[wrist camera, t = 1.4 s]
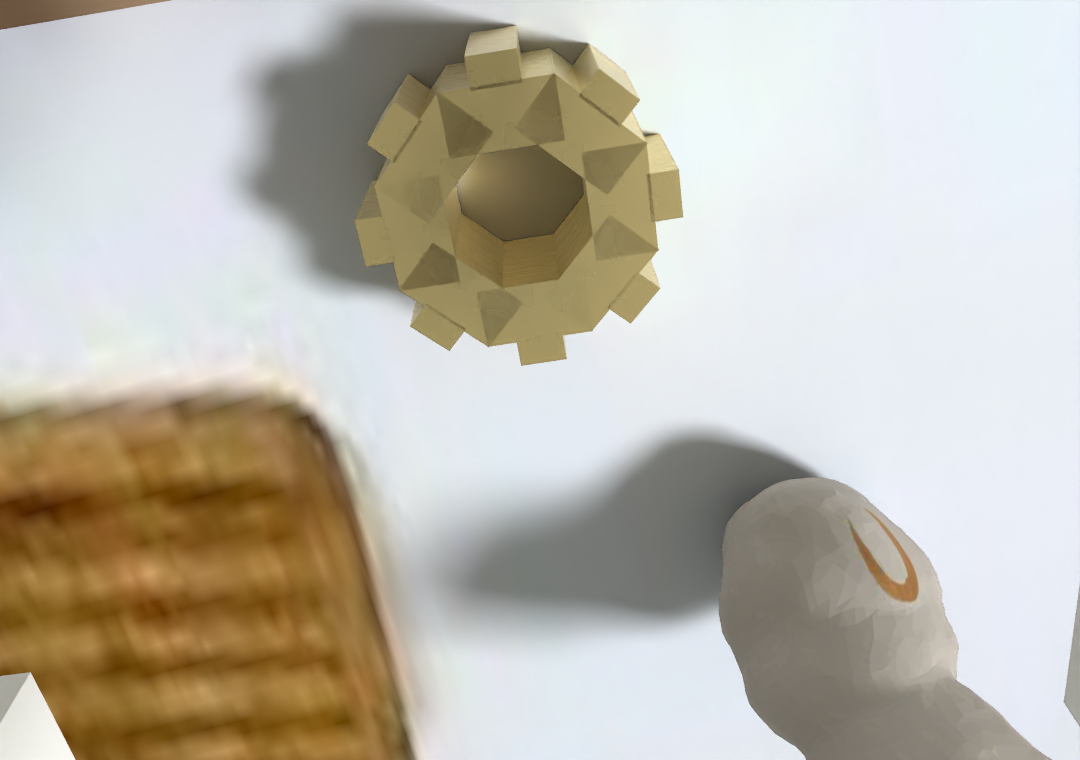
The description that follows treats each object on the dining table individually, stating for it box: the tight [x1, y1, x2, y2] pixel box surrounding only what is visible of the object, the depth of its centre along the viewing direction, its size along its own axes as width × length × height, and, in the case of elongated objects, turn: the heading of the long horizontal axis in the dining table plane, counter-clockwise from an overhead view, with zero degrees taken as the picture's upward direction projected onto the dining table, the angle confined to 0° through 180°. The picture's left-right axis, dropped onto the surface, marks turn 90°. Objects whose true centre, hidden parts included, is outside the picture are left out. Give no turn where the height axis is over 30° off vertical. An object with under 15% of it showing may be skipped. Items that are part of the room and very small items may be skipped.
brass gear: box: [354, 25, 683, 366], centre depth 30 cm, size 9×9×4 cm
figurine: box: [719, 477, 1051, 760], centre depth 32 cm, size 9×10×15 cm
